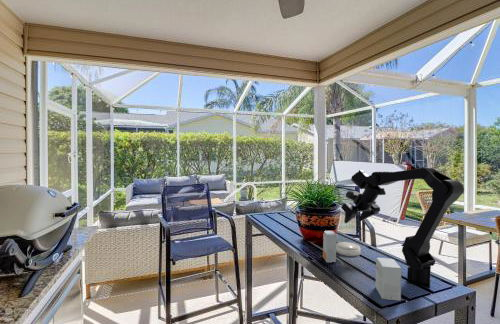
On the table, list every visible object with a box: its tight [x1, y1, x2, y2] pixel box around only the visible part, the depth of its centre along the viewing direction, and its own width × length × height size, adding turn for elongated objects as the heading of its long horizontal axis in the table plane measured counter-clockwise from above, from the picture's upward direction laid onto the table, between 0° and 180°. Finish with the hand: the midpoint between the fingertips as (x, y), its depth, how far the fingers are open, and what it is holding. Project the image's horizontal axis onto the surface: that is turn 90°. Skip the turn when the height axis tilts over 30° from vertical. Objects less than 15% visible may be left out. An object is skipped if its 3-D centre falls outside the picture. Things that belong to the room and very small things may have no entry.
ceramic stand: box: [336, 241, 361, 257], centre depth 125 cm, size 11×11×3 cm
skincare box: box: [322, 230, 337, 263], centre depth 115 cm, size 6×4×12 cm
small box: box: [374, 257, 402, 302], centre depth 87 cm, size 8×6×10 cm
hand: (352, 221), depth 123 cm, fingers open, 9 cm apart
